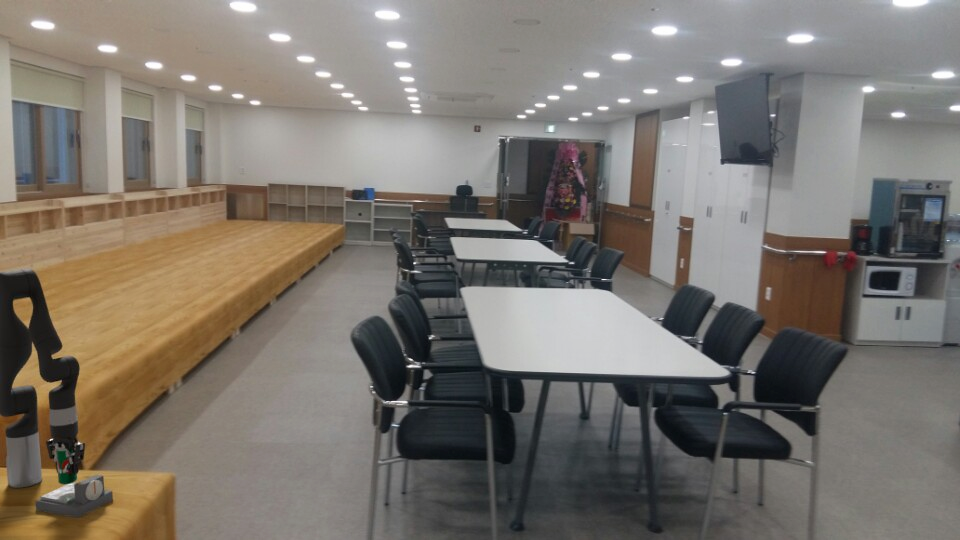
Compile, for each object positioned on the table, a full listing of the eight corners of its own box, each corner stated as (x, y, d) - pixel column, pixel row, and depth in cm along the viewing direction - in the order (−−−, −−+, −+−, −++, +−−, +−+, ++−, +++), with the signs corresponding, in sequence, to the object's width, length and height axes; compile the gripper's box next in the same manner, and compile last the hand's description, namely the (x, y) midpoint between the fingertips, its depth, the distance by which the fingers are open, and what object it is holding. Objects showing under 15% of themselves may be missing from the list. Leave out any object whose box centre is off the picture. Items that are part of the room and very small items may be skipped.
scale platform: (40, 499, 215) (40, 496, 215) (71, 485, 226) (71, 482, 226) (67, 504, 212) (67, 501, 212) (97, 489, 222) (97, 486, 222)
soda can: (81, 479, 221) (78, 442, 219) (70, 485, 216) (67, 448, 214) (66, 478, 221) (63, 442, 220) (54, 485, 216) (52, 447, 215)
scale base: (35, 510, 215) (33, 482, 214) (72, 493, 227) (70, 466, 226) (78, 518, 210) (76, 489, 209) (113, 500, 222) (112, 473, 221)
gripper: (35, 422, 215) (39, 475, 217) (70, 426, 210) (74, 480, 212) (57, 415, 222) (61, 466, 224) (91, 419, 218) (95, 471, 219)
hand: (67, 473), depth 218 cm, fingers closed on soda can, 5 cm apart
